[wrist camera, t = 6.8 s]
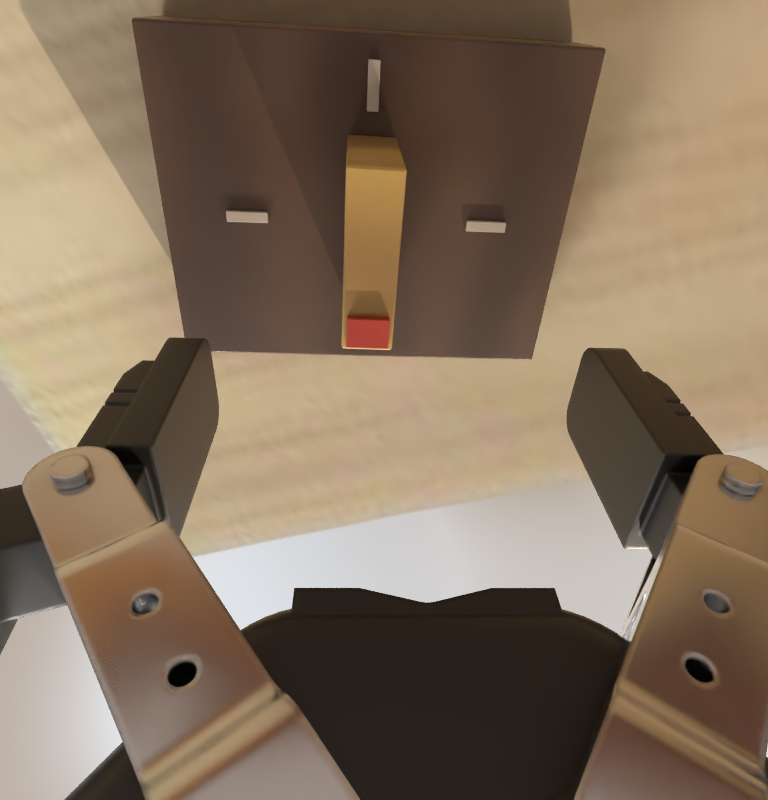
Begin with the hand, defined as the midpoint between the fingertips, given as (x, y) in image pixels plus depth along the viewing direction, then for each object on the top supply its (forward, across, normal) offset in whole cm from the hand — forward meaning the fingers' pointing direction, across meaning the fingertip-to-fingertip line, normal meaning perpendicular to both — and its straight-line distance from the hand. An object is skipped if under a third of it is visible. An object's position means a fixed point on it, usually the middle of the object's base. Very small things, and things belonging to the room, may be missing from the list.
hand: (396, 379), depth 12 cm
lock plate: (+12, +1, 0) cm, 12 cm away
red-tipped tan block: (+9, +1, 0) cm, 9 cm away
